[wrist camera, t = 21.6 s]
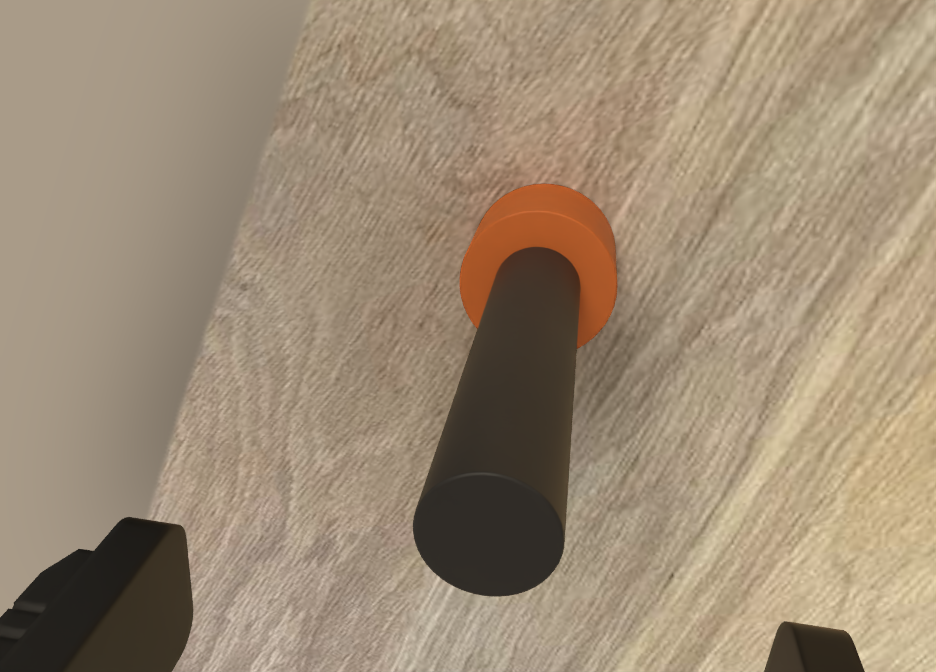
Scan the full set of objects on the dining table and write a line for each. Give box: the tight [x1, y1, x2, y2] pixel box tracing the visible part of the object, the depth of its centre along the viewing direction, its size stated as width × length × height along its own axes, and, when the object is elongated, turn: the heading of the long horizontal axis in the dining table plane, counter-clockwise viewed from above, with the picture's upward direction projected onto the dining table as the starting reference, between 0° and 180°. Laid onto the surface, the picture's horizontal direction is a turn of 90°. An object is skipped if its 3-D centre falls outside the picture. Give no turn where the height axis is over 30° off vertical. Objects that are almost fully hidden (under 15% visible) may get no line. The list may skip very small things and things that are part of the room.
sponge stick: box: [413, 184, 617, 596], centre depth 19 cm, size 4×4×14 cm
